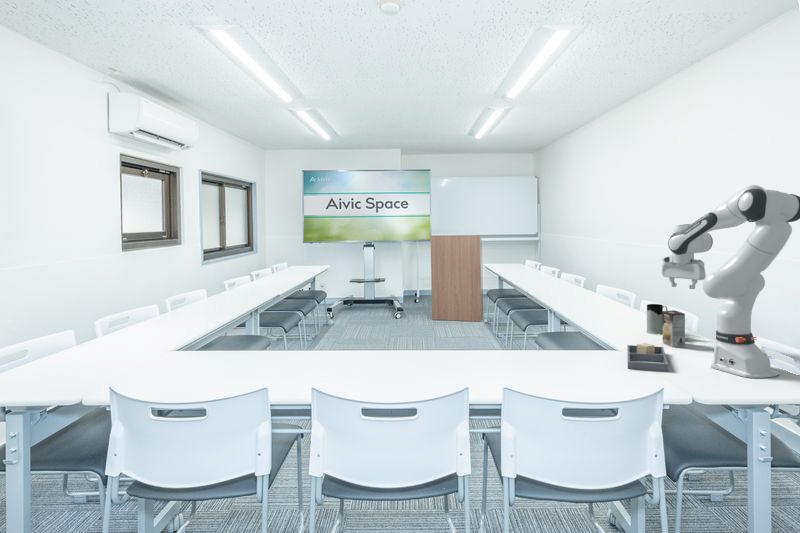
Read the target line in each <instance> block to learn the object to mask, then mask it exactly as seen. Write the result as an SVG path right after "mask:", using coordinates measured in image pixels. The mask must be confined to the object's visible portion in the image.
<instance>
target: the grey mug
mask: <svg viewBox="0 0 800 533" xmlns="http://www.w3.org/2000/svg"><path fill="white" fill-rule="evenodd" d="M664 307H665V311H668V307H667V306H666V305H663V304H659V303H648V304H646V331H645V332H647V333H646V334H649V333H650V335H663V328H662V311H664V310H663V309H664Z"/></svg>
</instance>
